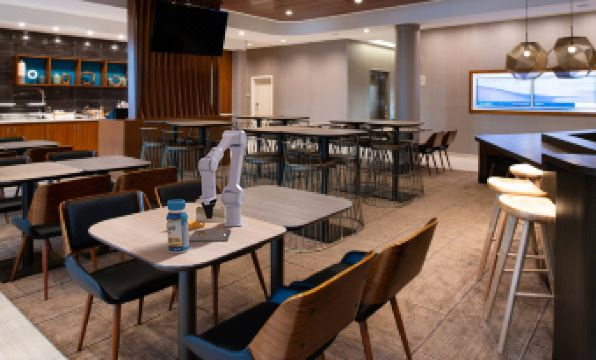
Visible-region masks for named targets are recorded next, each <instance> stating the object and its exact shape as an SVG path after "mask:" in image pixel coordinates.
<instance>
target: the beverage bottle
mask: <svg viewBox="0 0 596 360" xmlns="http://www.w3.org/2000/svg"><path fill="white" fill-rule="evenodd" d="M166 205H167V206H166V207H167V210H168V213H167V214H166V218H165V219H166V225H165V226H166V231H167V233H166V234H167V245H168V246H167V247H168V249H167V250H168V252H169V253H171V254H182V253H185V252H188V251H189V250H190V248H191V247H190V242H189V240H190V237H189V235H190V234H189V231H190V229H188V226H189V222H188V221H189V220H188V219H189V216H188V213H187V211H185V209H186V201H185V199H183V198H177V199H176V198H175V199H169V200H167V203H166ZM187 220H188V221H187Z"/></svg>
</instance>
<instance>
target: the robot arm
mask: <svg viewBox="0 0 596 360" xmlns="http://www.w3.org/2000/svg"><path fill="white" fill-rule="evenodd" d="M221 134H222V135H221V138H222V139H220V142H219V144H218V145H217V146H214V147H213V146H212V148H211V150H210V151H209V152H208V153H207V155H206V156H205V157H202V158H201V159H199V161H198V164H197V168H198V171H199V174H200V177H201V195H200V196H199V199H202V202H201V207H203V208H204V211H205V214H206V218H207V219H212V215H213V208H214V207H216V203H217V201H218V198H217V191H216V190H217V189H216V171H217V170H218V166H219V162H220V161H221V160H222V159H223V157H224V155H225V154H224V152H225V151H226V150H227V149H229V150H231V159H230V160H231V161H230V169H229V176H228V183H227V185H226V186H224V187H223V189H222V193H221V195H220V201H221V204H223V207H226V221H225V223H223V224H224V227H242V224H243V222H244V220H243V219H242V211H241V210H242V209H241V207H242V205H243V204H244V203H245V189H244V188H243V187H241V185H240V182H241V175H242V167H243V159H244V151H245V150H246V148H247V141H248V137H247V134H246V132H245V131H244V130H224V131H223V133H221Z"/></svg>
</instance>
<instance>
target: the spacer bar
mask: <svg viewBox="0 0 596 360" xmlns="http://www.w3.org/2000/svg"><path fill="white" fill-rule="evenodd" d="M195 221H196V223H200V224H202V223H205V224H211V223H212V224H218V223H219V224H225V222H226V207H225V206H215V207H214V208H213V215H212V219H207V218H206V214H205V211H204V208H203V207H202V206H197V207H196V208H195Z"/></svg>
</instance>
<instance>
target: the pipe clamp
mask: <svg viewBox="0 0 596 360" xmlns="http://www.w3.org/2000/svg"><path fill="white" fill-rule="evenodd" d="M187 221H188V222H189V226H188V230H190V229H191V230H192V229H194V228H206V223H196V220H193V221H190V220H188V219H187Z"/></svg>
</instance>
